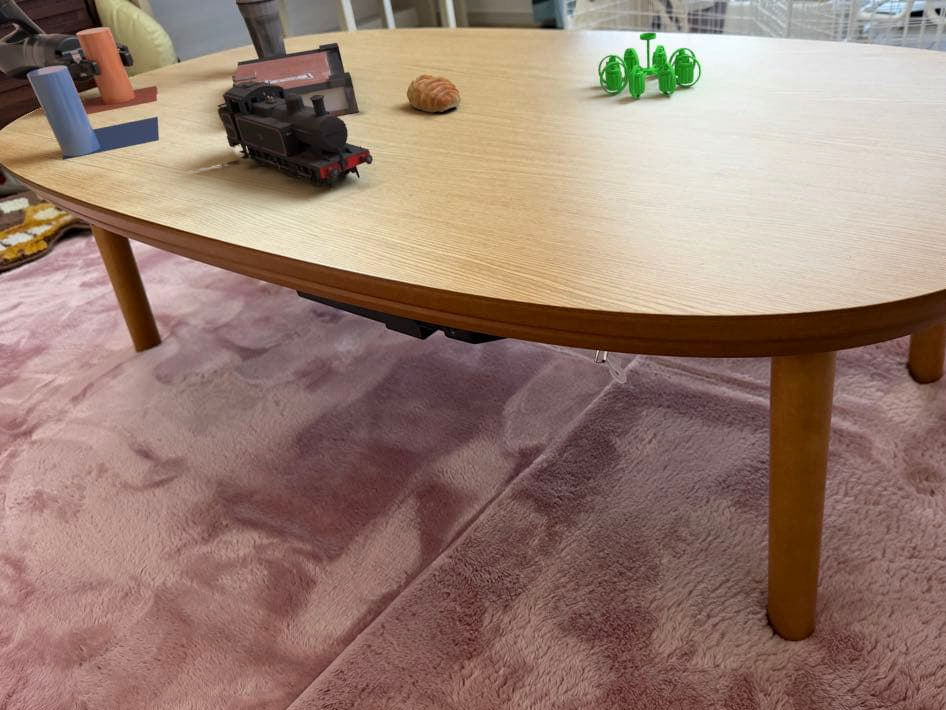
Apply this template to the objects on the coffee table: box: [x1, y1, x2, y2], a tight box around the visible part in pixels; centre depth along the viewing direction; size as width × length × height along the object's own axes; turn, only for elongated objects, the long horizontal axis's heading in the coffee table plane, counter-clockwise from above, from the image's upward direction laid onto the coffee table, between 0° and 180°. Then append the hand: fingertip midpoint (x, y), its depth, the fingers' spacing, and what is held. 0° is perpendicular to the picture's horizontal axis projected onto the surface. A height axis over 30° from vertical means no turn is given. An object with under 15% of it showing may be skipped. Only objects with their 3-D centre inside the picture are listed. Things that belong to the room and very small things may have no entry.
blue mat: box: [62, 116, 160, 161], centre depth 120 cm, size 13×14×1 cm
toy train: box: [217, 81, 374, 189], centre depth 98 cm, size 8×25×10 cm, turn 45°
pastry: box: [406, 73, 462, 114], centre depth 116 cm, size 9×7×4 cm
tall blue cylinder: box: [27, 66, 100, 158], centre depth 112 cm, size 5×5×11 cm
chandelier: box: [597, 32, 702, 99], centre depth 113 cm, size 15×15×7 cm
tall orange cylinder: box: [75, 26, 136, 104], centre depth 135 cm, size 5×5×11 cm
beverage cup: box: [235, 0, 287, 59], centre depth 142 cm, size 7×7×20 cm
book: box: [231, 42, 360, 117], centre depth 127 cm, size 26×18×5 cm
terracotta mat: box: [83, 85, 158, 115], centre depth 138 cm, size 12×12×1 cm
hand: (113, 63), depth 133 cm, fingers closed on tall orange cylinder, 5 cm apart
